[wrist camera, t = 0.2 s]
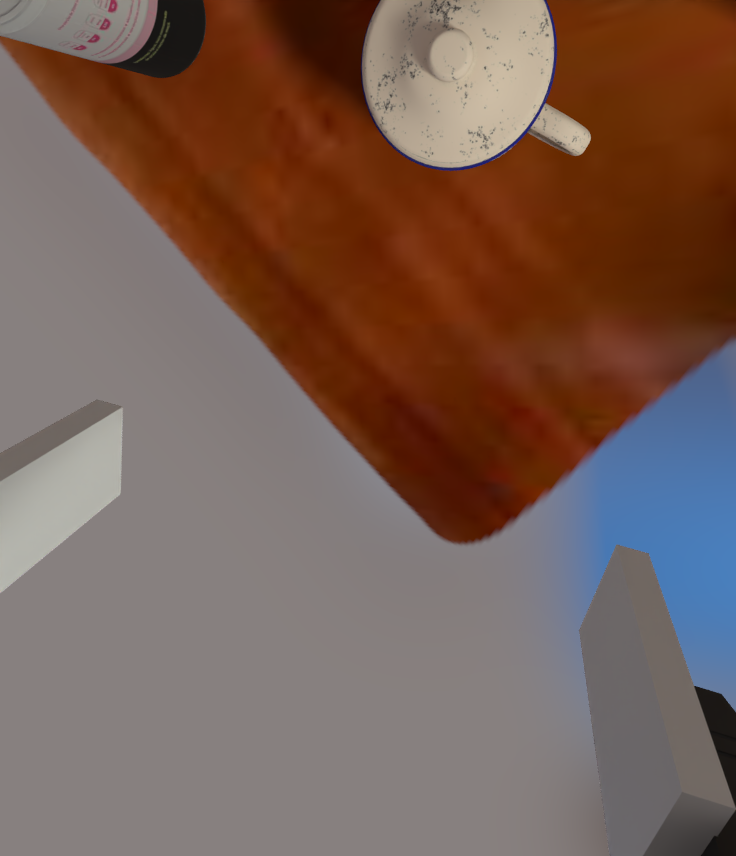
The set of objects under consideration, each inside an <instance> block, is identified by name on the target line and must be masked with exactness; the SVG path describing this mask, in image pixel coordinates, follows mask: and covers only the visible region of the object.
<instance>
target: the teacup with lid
mask: <svg viewBox="0 0 736 856" xmlns="http://www.w3.org/2000/svg"><path fill="white" fill-rule="evenodd" d="M556 56H557V44H556V33H555V26H554V22H553V18H552V14H551V12H550V9H549V6H548V4H547V1H546V0H380V2H379V3H378V5H377V7H376V9H375V11H374V13H373V15H372V17H371V20H370V23H369V25H368V28H367V31H366V35H365V39H364V44H363V49H362V58H361V78H362V87H363V93H364V97H365V101H366V104H367V107H368V110H369V113H370V115H371V117H372V119H373V121H374V123H375V125H376V127H377V128H378V130H379V131H380V133H381V134H382V136H383V137H384V138H385V139H386V141H387V142H388V143H389V144H390V145H391V146H392V147H393V148H394V149H395V150H396V151H398V152H399V153H400V154H401V155H403V156H404V157H406V158H408V159H409V160H411V161H413V162H415V163H417V164H420V165H422V166H425V167H428V168H432V169H438V170H450V171H454V170H464V169H470V168H473V167H477V166H480V165H483V164H485V163H488V162H490V161H492V160H494V159H496V158H498V157H500V156H501V155H503V154H504V153H506V152H507V151H508V150H510V149H511V148H512V147H513V146H514V145H515V144H516V143H517V142H518V141H519V140H521V138H522V137H523V136H524V135H525V134H526V133H529V134H531V135H533V136H534V137H536V138H538V139H540V140H542V141H543V142H545V143H547V144H549V145H551V146H553V147H555V148H557V149H559V150H561V151H563V152H565V153H568V154H570V155H575V156H576V155H580V154H582V153H583V152H584V151H585V149H586V147H587V146H588V144H589V142H590V140H591V135H590V133H589V131H588V130H587V129H586V128H585V127H583V126H582V125H581V124H579V123H578V122H576V121H575V120H573V119H572V118H570V117H568V116H567V115H565V114H563V113H562V112H560V111H558V110H556V109H555V108H553V107H551V106H549V105H548V104H546V103H545V102H546V100H547V97H548V95H549V92H550V89H551V86H552V82H553V78H554V73H555V67H556Z"/></svg>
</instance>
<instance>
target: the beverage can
mask: <svg viewBox="0 0 736 856" xmlns="http://www.w3.org/2000/svg"><path fill="white" fill-rule="evenodd" d="M205 28H206V15H205V7H204V3H203V0H0V36H4V37H7V38H11V39H15V40H18V41H22V42H26V43H30V44H33V45H37V46H41V47H44V48H48V49H52V50H55V51H59V52H63V53H67V54H70V55H74V56H78V57H81V58H85V59H89V60H93V61H96V62H100V63H104V64H107V65H111V66H115V67H119V68H122V69H126V70H130V71H133V72H137V73H141V74H144V75H148V76H152V77H157V78H166V77H171V76H174V75H177V74H179V73H181V72H183V71H184V70H185V69H187V68H188V67H189V66H190V65H191V64H192V62H193V61H194V60H195V58H196V57H197V55H198V53H199V51H200V49H201V47H202V44H203V40H204V36H205Z"/></svg>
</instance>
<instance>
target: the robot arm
mask: <svg viewBox="0 0 736 856" xmlns="http://www.w3.org/2000/svg"><path fill="white" fill-rule="evenodd" d="M122 419H123V407H122V406H118V405H115V404H111V403H108V402H104V401H100V400H95V401H93V402H92V403H90V404H88V405H87V406H84V407H83V408H81V409H79V410H77V411H76V412H74V413H72V414H70V415H68V416H66V417H65V418H63V419H61V420H59V421H57V422H56V423H54V424H52V425H50V426H48V427H47V428H45V429H43V430H41V431H39V432H37V433H36V434H34V435H32V436H30V437H28V438H27V439H25V440H23V441H21V442H20V443H18V444H16V445H14V446H12V447H11V448H9V449H7V450H5V451H3V452H1V453H0V593H1V592H2V591H4V590H5V589H6V588H7V587H8V586H10V585H11V584H12V583H13V582H14V581H16V580H17V579H18V578H19V577H20V576H22V575H23V574H24V573H25V572H27V571H28V570H29V569H30V568H31V567H32V566H34V565H35V564H36V563H37V562H39V561H40V560H41V559H42V558H44V557H45V556H46V555H47V554H48V553H49V552H51V551H52V550H53V549H54V548H56V547H57V546H58V545H59V544H61V543H62V542H63V541H64V540H65V539H67V538H68V537H69V536H70V535H71V534H73V533H74V532H75V531H76V530H77V529H79V528H80V527H81V526H82V525H83V524H85V523H86V522H87V521H88V520H89V519H91V518H92V517H93V516H94V515H96V514H97V513H98V512H99V511H100V510H102V509H103V508H104V507H105V506H106V505H108V504H109V503H110V502H111V501H113V500H114V499H115V498H116V497H117V496H119V495H120V494H121V460H122V422H123V420H122ZM579 632H580V640H581V648H582V655H583V662H584V670H585V677H586V684H587V691H588V699H589V707H590V714H591V721H592V729H593V736H594V744H595V751H596V758H597V766H598V773H599V780H600V787H601V794H602V802H603V810H604V817H605V824H606V832H607V839H608V847H609V854H610V856H736V712H735V711H734V709H733V708H732V707H731V706H730V704H729V703H728V702H727V701H726V699H725V698H724V697H723V696H722V694H719V693H716V692H713V691H710V690H706V689H703V688H700V687H696V686H694V685H693V682H692V679H691V676H690V673H689V670H688V667H687V664H686V661H685V658H684V656H683V653H682V650H681V647H680V644H679V641H678V638H677V635H676V632H675V629H674V627H673V623H672V621H671V618H670V615H669V612H668V609H667V606H666V603H665V600H664V597H663V594H662V591H661V588H660V586H659V583H658V580H657V577H656V574H655V571H654V568H653V565H652V562H651V560H650V556H649V554H648V553H645V552H641V551H638V550H634V549H630V548H627V547H623V546H620V545H616V547H615V550H614V552H613V554H612V556H611V559H610V561H609V563H608V565H607V568H606V570H605V572H604V575H603V577H602V579H601V581H600V584H599V586H598V588H597V591H596V593H595V595H594V598H593V600H592V602H591V604H590V607H589V609H588V611H587V614H586V616H585V618H584V620H583V623H582V625H581V628H580V630H579Z"/></svg>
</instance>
